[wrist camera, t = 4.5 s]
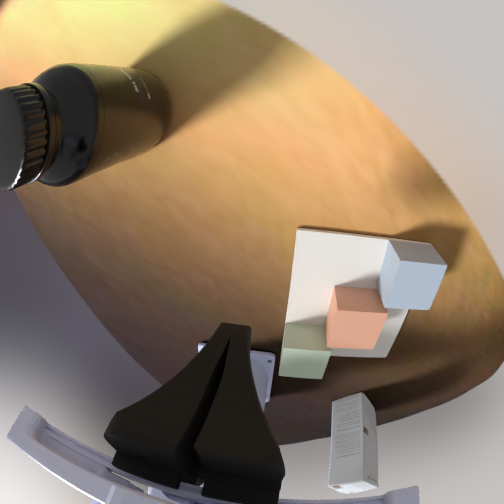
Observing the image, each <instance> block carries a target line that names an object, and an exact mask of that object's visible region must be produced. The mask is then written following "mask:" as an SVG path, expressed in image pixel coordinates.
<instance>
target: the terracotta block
mask: <svg viewBox="0 0 504 504" xmlns="http://www.w3.org/2000/svg"><path fill="white" fill-rule="evenodd" d="M387 315H388V311H387V308H384V305H383V302H382V299H381V296H380V293H379V290H378V289H367V288H354V287H343V286H334V289H333V293H332V298H331V302H330V306H329V310H328V314H327V318H326V322H325V325H326V341H327V347H330V348H348V349H373V348H374V346H375V344H376V341H377V339H378V337H379V335H380V332H381V330H382V328H383V325H384V323H385V320H386V318H387Z"/></svg>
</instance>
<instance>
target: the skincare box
mask: <svg viewBox="0 0 504 504" xmlns="http://www.w3.org/2000/svg"><path fill="white" fill-rule="evenodd" d="M377 452H378V451H377V433H376V416H375V409H374V407H373V405H372V404H371V402H370V401H369V399H368V398H367V397H366V396H365V394H364V393H362V392H360V393H356V394H353V395H350V396H346V397H343V398H340V399H337V400H335V401H333V402H332V429H331V449H330V465H329V477H328V486H329V487H330V488H333V489H335V490H336V491H338V492H343V493H345V494H351V493H356V492H361V491H366V490H370V489H374V488H377V487H378V453H377Z"/></svg>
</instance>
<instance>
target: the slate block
mask: <svg viewBox="0 0 504 504" xmlns="http://www.w3.org/2000/svg"><path fill="white" fill-rule="evenodd" d="M447 266H448V265H447V264H446V263H445V261H444V260H443V259H442V257H441V256H440V255H439V253H438V252H437V251H436V249H435V248H434V247H433V246H432V245H425V244H417V243H409V242H402V241H393V240H389V241H388V245H387V249H386V252H385V256H384V260H383V263H382V267H381V270H380V274H379V277H378V280H377V284H376V285H377V288H378V290H379V293H380V296H381V299H382V302H383V305H384V308H396V309H417V310H429V309H430V307H431V304H432V302H433V300H434V298H435V295H436V293H437V291H438V288H439V286H440V284H441V281H442V279H443V276H444V274H445V271H446V268H447Z"/></svg>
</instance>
